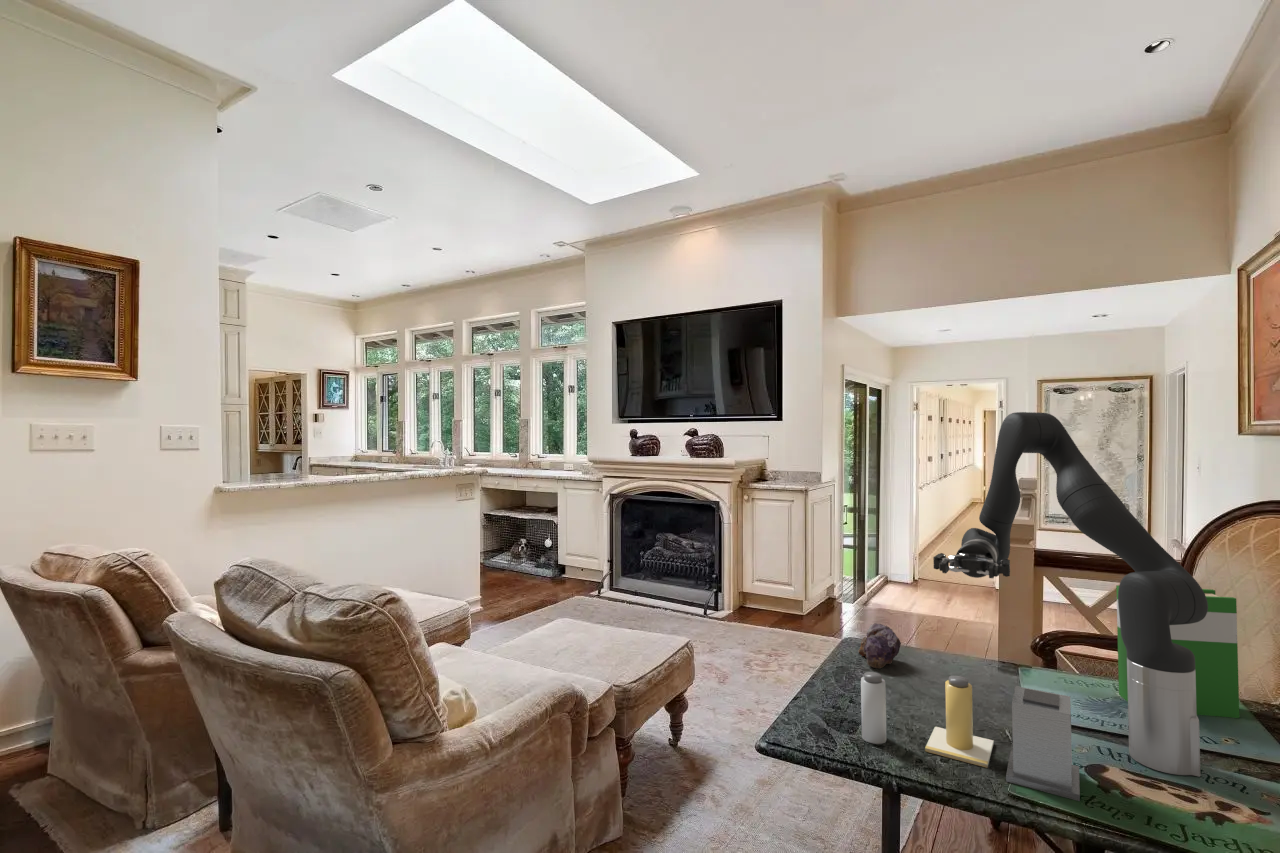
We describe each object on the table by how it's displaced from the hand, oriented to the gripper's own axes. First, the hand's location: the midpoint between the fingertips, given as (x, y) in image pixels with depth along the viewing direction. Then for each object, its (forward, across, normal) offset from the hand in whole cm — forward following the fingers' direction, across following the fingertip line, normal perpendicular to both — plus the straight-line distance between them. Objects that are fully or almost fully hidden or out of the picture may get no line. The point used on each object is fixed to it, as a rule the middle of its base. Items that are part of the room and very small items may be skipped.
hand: (967, 570), depth 126 cm
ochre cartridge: (+14, 0, +29) cm, 32 cm away
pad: (+14, 0, +30) cm, 33 cm away
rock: (-22, -23, +30) cm, 44 cm away
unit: (+17, +13, +30) cm, 37 cm away
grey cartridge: (+19, -14, +30) cm, 38 cm away
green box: (-30, +35, +30) cm, 55 cm away
